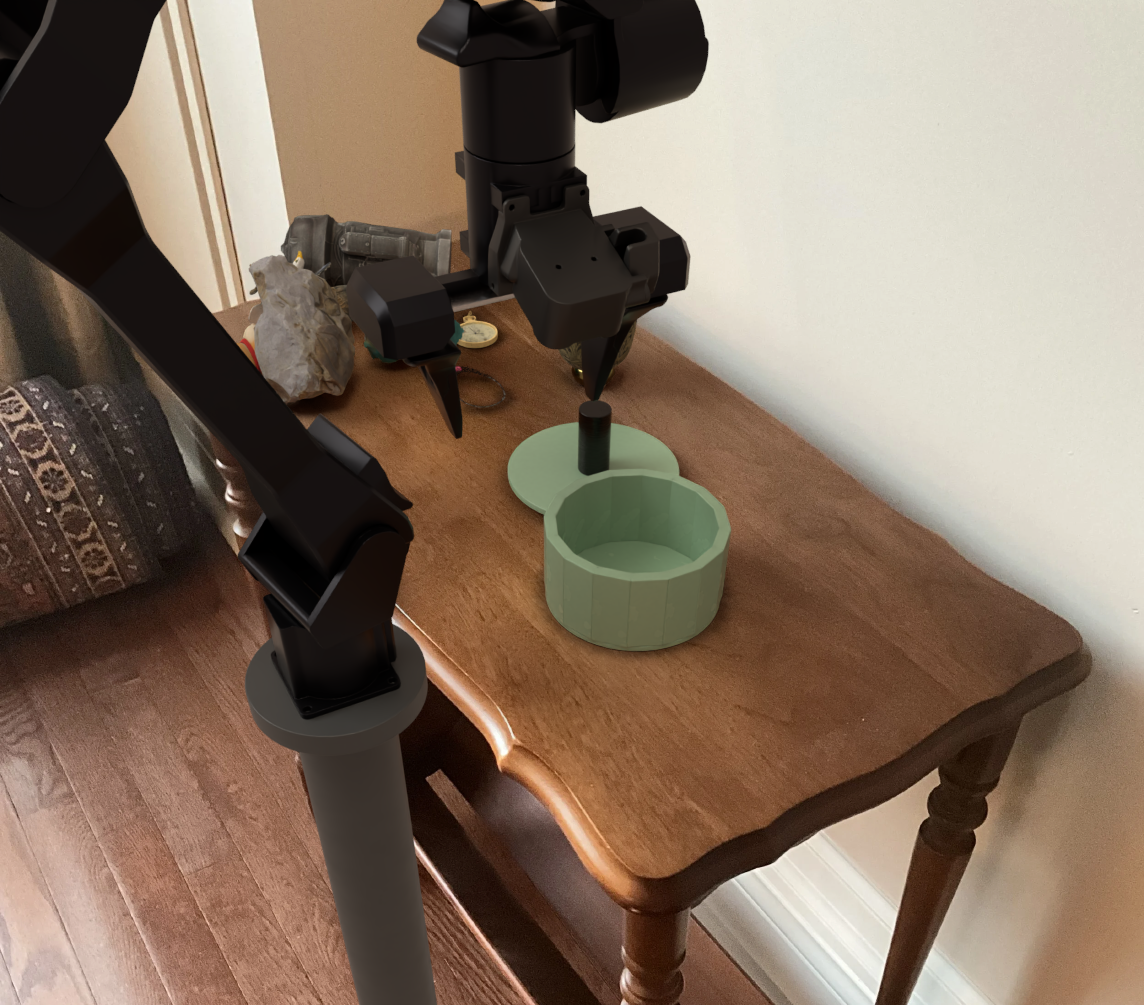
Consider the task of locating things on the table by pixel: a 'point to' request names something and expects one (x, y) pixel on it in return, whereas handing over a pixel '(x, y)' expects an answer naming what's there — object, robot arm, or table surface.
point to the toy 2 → (361, 246)
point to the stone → (300, 332)
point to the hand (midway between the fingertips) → (525, 416)
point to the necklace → (460, 368)
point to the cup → (574, 358)
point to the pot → (635, 558)
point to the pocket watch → (477, 333)
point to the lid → (582, 454)
